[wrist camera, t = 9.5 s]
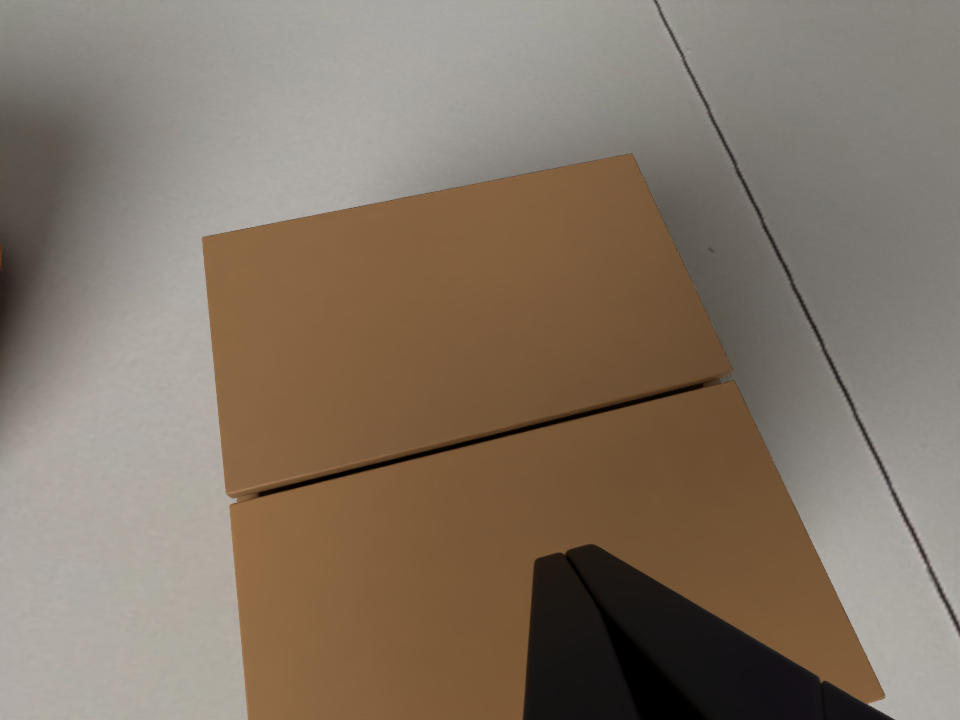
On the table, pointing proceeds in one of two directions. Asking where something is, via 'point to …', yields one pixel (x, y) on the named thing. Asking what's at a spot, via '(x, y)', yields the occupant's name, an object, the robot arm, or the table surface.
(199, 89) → the table surface
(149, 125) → the table surface
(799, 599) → the flap
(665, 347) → the carton
